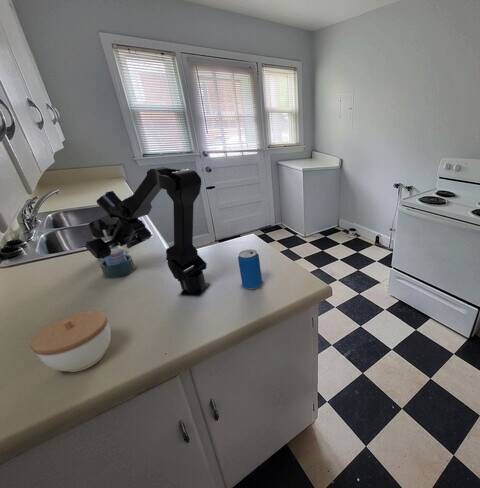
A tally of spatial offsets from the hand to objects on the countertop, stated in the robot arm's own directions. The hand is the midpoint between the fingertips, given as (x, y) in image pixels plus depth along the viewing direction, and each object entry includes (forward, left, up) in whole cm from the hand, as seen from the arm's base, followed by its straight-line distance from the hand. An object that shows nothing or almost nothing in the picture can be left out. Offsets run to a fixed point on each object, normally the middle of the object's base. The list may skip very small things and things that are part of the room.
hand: (115, 252), depth 97 cm
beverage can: (-52, +6, -8) cm, 53 cm away
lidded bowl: (-23, +39, -8) cm, 46 cm away
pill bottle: (+1, 0, -8) cm, 8 cm away
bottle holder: (+1, 0, -8) cm, 8 cm away
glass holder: (+12, -10, -8) cm, 18 cm away
